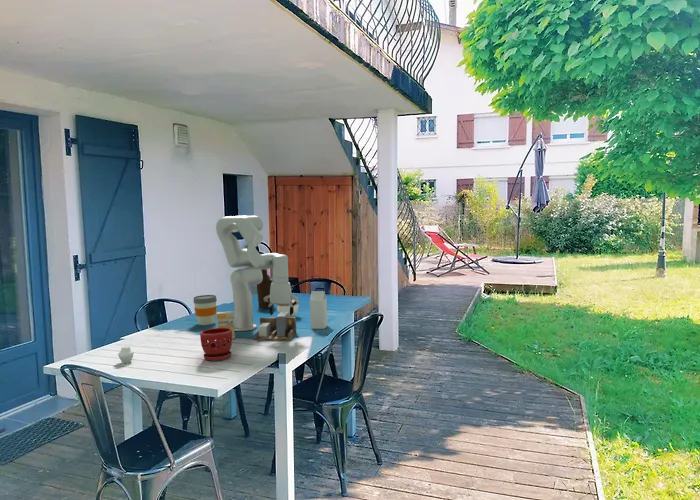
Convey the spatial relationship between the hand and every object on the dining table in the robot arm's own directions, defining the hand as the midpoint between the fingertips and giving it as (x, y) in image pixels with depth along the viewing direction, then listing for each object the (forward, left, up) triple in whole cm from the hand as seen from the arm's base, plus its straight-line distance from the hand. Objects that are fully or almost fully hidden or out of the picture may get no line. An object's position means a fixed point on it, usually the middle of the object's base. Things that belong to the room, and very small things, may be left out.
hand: (281, 314), depth 250 cm
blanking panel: (+1, 0, -10) cm, 10 cm away
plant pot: (-20, -34, -11) cm, 42 cm away
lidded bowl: (-6, +44, -11) cm, 45 cm away
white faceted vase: (-58, -39, -11) cm, 71 cm away
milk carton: (+16, +18, -11) cm, 26 cm away
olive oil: (-27, +75, -11) cm, 80 cm away
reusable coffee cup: (-50, +32, -11) cm, 61 cm away
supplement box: (-27, -2, -11) cm, 30 cm away
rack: (-3, 0, -11) cm, 11 cm away
